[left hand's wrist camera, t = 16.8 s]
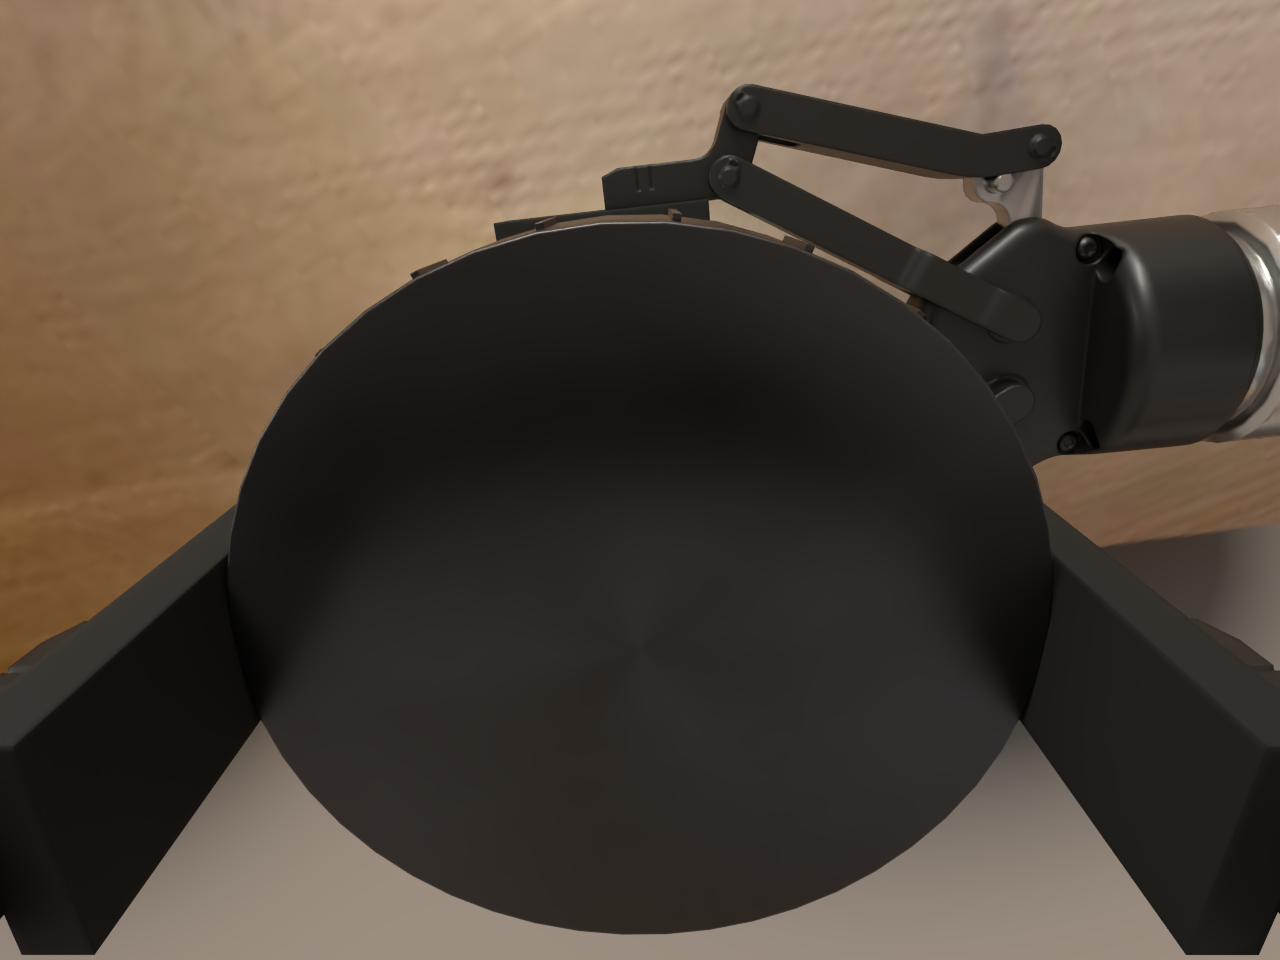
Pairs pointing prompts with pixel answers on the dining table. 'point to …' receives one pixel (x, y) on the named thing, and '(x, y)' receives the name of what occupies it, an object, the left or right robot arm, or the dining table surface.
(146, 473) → the dining table surface
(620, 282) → the lid
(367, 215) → the dining table surface
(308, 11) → the dining table surface
